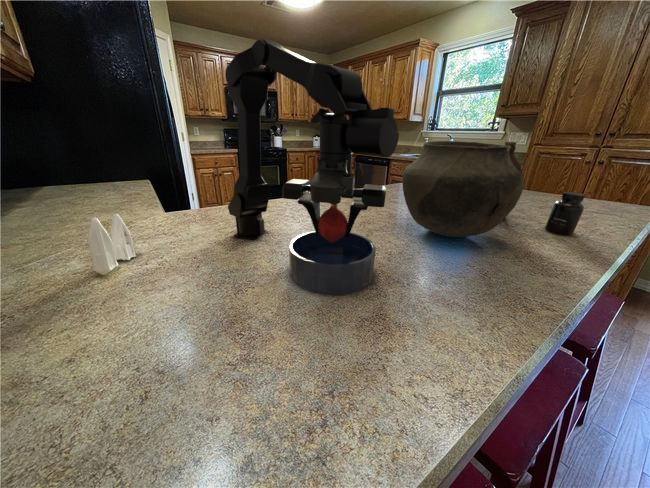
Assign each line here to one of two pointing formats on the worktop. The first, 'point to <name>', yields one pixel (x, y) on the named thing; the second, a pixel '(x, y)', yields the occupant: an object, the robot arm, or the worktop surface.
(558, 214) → the supplement bottle
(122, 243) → the shaker set
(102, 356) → the worktop surface
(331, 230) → the onion
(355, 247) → the bowl
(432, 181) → the pot
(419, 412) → the worktop surface
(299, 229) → the worktop surface
